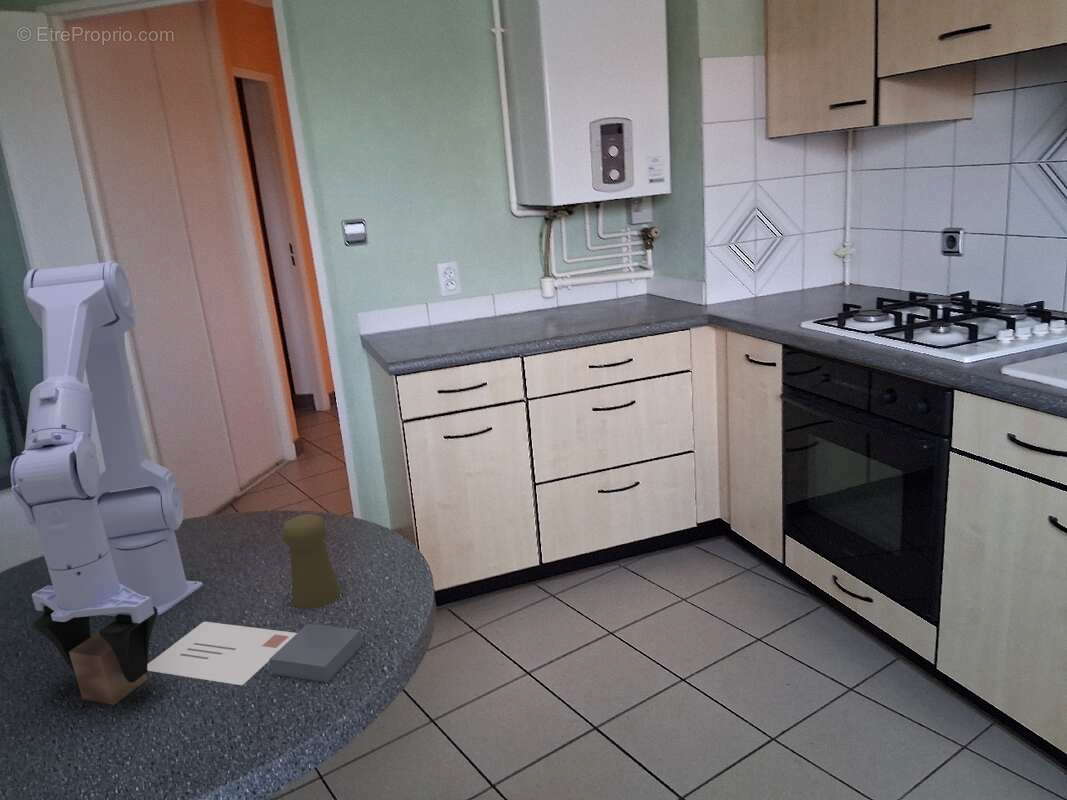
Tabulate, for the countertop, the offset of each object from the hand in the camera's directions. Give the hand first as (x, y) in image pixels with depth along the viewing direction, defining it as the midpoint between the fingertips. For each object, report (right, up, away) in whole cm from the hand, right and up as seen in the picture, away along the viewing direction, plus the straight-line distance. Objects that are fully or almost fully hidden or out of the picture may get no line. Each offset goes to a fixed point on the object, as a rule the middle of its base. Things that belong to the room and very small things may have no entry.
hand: (110, 672), depth 85 cm
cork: (+18, +4, +16) cm, 24 cm away
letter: (+10, 0, +6) cm, 11 cm away
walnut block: (0, -2, +1) cm, 2 cm away
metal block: (+22, 0, +2) cm, 22 cm away
